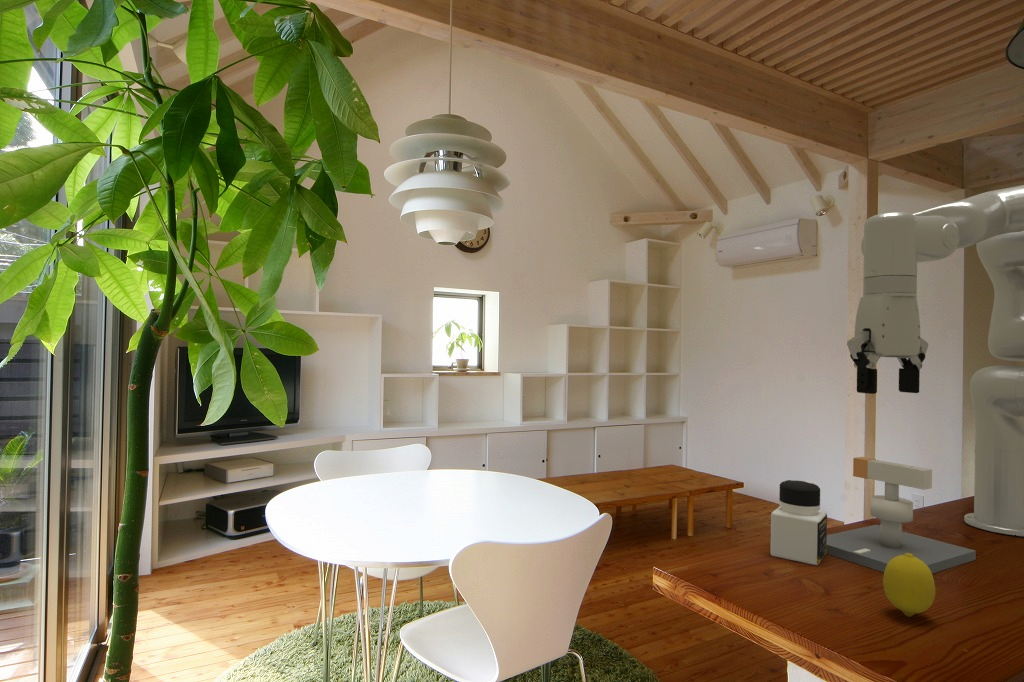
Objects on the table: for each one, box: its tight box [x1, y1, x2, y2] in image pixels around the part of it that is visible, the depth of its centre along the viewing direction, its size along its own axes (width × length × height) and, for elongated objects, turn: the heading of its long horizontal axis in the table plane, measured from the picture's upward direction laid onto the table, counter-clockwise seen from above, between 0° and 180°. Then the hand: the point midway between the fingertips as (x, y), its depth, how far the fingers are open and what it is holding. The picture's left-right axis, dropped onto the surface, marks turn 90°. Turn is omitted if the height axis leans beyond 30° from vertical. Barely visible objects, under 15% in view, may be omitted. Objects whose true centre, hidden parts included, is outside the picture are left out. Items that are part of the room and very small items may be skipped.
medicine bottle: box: [769, 479, 828, 566], centre depth 99 cm, size 7×7×12 cm
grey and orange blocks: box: [852, 456, 933, 523], centre depth 101 cm, size 11×6×9 cm, turn 30°
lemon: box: [882, 553, 936, 617], centre depth 76 cm, size 6×6×8 cm
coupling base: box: [826, 519, 977, 574], centre depth 100 cm, size 20×16×6 cm
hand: (888, 392), depth 99 cm, fingers open, 9 cm apart
